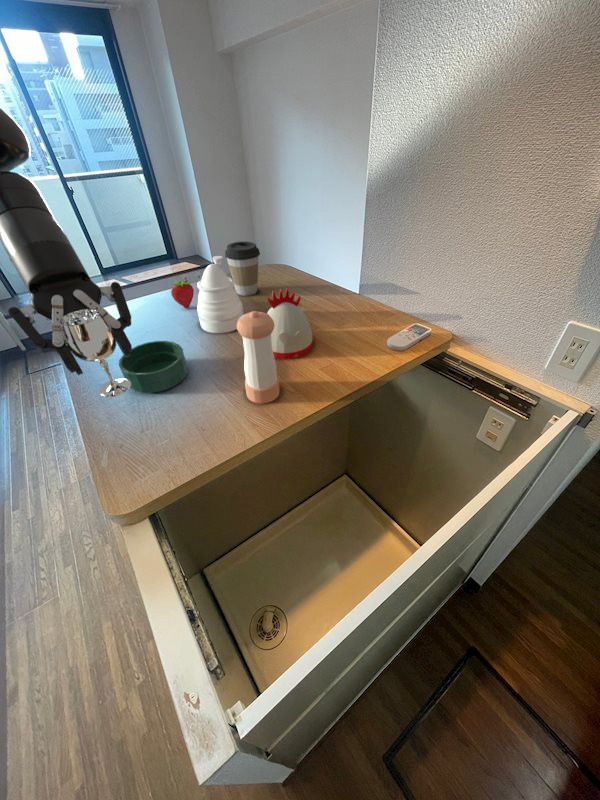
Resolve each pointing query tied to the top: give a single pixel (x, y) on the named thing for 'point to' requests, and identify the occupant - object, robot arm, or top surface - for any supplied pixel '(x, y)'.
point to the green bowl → (154, 366)
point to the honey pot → (218, 300)
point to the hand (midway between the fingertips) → (104, 363)
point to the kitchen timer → (289, 327)
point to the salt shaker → (259, 357)
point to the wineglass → (93, 344)
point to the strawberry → (182, 293)
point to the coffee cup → (243, 266)
